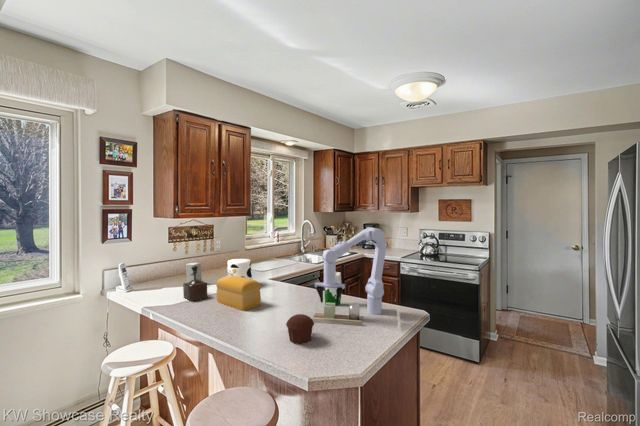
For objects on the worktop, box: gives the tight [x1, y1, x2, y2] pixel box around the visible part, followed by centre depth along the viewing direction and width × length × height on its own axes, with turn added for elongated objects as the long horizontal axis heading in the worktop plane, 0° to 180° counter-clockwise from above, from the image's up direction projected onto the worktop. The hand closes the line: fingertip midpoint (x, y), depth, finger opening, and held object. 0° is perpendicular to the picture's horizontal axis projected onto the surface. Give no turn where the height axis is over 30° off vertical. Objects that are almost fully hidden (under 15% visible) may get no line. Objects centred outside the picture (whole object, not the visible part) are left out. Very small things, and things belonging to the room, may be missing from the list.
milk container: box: [226, 258, 254, 280], centre depth 217 cm, size 17×17×18 cm
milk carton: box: [324, 271, 342, 307], centre depth 176 cm, size 9×9×20 cm
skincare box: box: [185, 262, 203, 283], centre depth 219 cm, size 8×7×16 cm
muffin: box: [285, 313, 315, 345], centre depth 132 cm, size 12×11×10 cm
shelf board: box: [309, 312, 364, 327], centre depth 152 cm, size 12×24×3 cm, turn 78°
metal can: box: [348, 302, 361, 320], centre depth 152 cm, size 5×5×7 cm
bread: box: [216, 275, 262, 312], centre depth 180 cm, size 24×13×15 cm, turn 51°
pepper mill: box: [182, 266, 208, 302], centre depth 193 cm, size 16×11×18 cm
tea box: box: [323, 303, 336, 319], centre depth 155 cm, size 4×6×6 cm
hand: (329, 302), depth 155 cm, fingers open, 7 cm apart
